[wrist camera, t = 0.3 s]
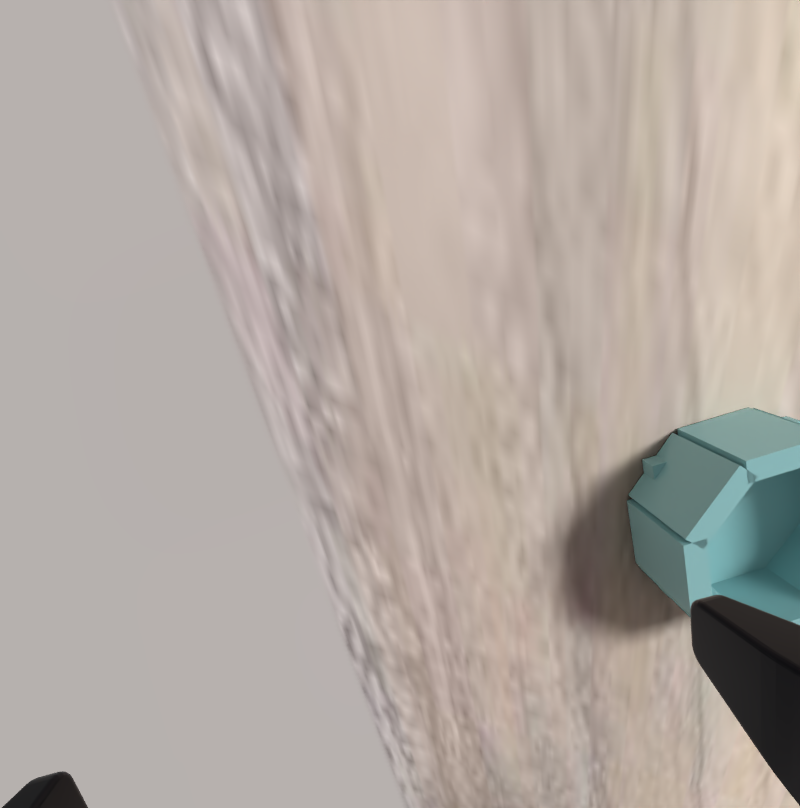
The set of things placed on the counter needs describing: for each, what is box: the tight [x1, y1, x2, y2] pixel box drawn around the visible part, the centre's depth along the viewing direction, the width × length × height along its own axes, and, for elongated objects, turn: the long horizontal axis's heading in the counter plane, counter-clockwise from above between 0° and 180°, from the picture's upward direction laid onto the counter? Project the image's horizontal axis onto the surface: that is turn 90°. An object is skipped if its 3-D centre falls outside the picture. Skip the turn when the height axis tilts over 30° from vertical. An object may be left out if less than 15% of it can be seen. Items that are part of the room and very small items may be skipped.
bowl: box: [627, 408, 800, 625], centre depth 22 cm, size 9×9×4 cm
